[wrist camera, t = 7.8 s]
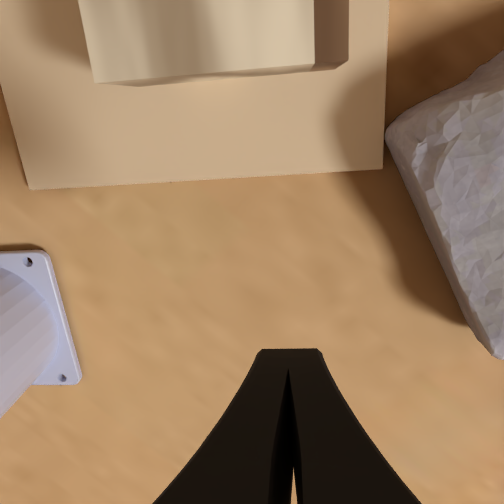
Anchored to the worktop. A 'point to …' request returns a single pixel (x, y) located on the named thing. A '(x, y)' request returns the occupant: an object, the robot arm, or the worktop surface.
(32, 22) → the beige square board
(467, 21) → the worktop surface
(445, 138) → the stone block
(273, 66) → the maple block
